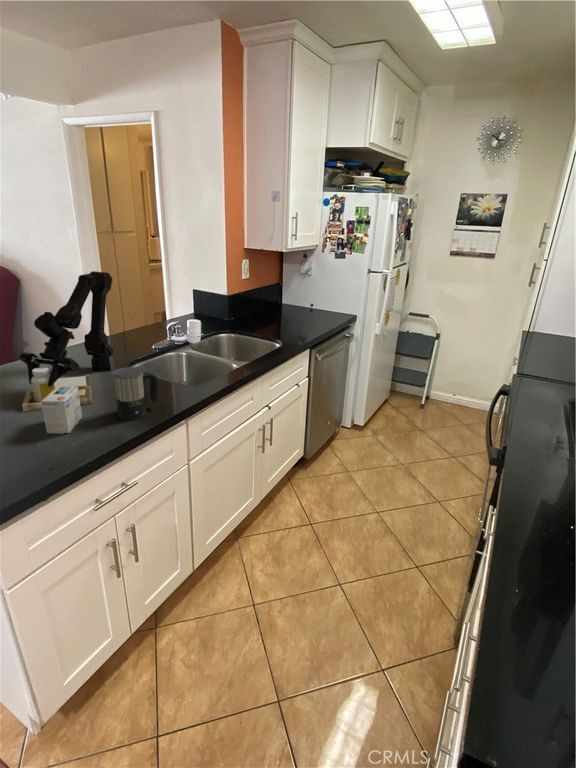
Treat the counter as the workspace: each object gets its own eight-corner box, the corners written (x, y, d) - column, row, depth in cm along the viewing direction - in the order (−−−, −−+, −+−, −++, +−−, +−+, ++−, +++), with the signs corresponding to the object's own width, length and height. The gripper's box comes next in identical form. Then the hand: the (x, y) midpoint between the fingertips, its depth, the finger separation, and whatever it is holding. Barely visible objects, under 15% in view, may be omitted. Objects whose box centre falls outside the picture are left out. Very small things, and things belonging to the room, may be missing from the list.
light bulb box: (61, 417, 131) (56, 386, 127) (83, 417, 132) (78, 386, 127) (45, 433, 121) (39, 400, 117) (69, 434, 122) (64, 401, 118)
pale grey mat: (89, 377, 162) (89, 375, 162) (89, 389, 151) (89, 388, 151) (51, 380, 157) (51, 379, 156) (49, 393, 146) (48, 392, 146)
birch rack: (91, 390, 151) (89, 374, 149) (91, 403, 141) (89, 387, 139) (27, 396, 143) (24, 380, 141) (23, 411, 133) (19, 394, 131)
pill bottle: (61, 399, 142) (56, 368, 138) (45, 406, 136) (39, 374, 132) (46, 396, 144) (41, 365, 140) (30, 403, 138) (24, 370, 134)
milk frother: (129, 422, 130) (125, 379, 125) (98, 408, 138) (93, 367, 132) (163, 407, 142) (161, 367, 136) (133, 395, 149) (130, 356, 143)
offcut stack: (86, 394, 148) (85, 387, 147) (87, 401, 143) (86, 394, 142) (64, 397, 145) (63, 390, 144) (64, 404, 140) (63, 397, 139)
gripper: (93, 357, 149) (78, 397, 143) (46, 351, 151) (29, 390, 145) (77, 342, 138) (60, 384, 132) (27, 336, 141) (8, 377, 135)
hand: (39, 385), depth 136 cm, fingers closed on pill bottle, 6 cm apart
